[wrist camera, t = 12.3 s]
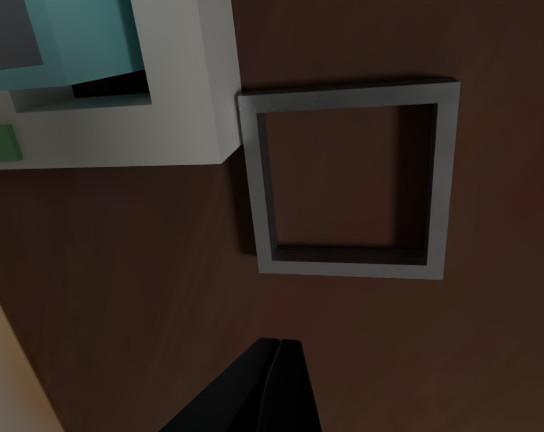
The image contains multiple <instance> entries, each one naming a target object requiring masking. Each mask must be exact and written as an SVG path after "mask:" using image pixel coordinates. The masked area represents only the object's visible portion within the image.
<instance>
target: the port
mask: <svg viewBox="0 0 544 432" xmlns="http://www.w3.org/2000/svg"><path fill="white" fill-rule="evenodd" d="M131 4H132V9H133V13H134V18H135V23H136V28H137V33H138V38H139V42H140V47H141V52H142V57H143V62H144V67H145V71H146V76H147V81H148V86H149V91H150V93H140V94H126V95H112V96H98V97H84V98H75V96H74V92H73V89H72V85H68V86H56V87H44V88H32V89H19V90H7V91H0V169H37V168H76V167H115V166H153V165H192V164H221V163H222V162H223V161H224V160H226V159H227V158H228V157H229V156H230V155H231V154H232V153H233V152H234V151H235V150H236V149H237V148H238V147H239V146H240V145H242V144H243V136H242V128H241V120H240V112H239V104H238V96H240V95H241V94H242V90H241V81H240V73H239V64H238V56H237V48H236V39H235V31H234V22H233V14H232V5H231V0H131Z"/></svg>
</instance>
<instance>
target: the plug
mask: <svg viewBox="0 0 544 432" xmlns="http://www.w3.org/2000/svg"><path fill="white" fill-rule="evenodd" d="M140 70H145V67H144V62H143V57H142V52H141V47H140V42H139V38H138V33H137V28H136V23H135V18H134V13H133V9H132V4H131V0H0V91H7V90H19V89H32V88H44V87H56V86H68V85H73V84H78V83H83V82H88V81H92V80H97V79H102V78H107V77H111V76H116V75H121V74H126V73H131V72H135V71H140Z"/></svg>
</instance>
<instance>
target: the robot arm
mask: <svg viewBox="0 0 544 432" xmlns="http://www.w3.org/2000/svg"><path fill="white" fill-rule="evenodd" d="M159 432H322V429H321V425H320V420H319V416H318V412H317V408H316V403H315V399H314V395H313V390H312V386H311V382H310V377H309V373H308V369H307V364H306V360H305V356H304V352H303V347H302V343H301V342H300V341H299V340H290V339H282V340H281V341H280V340H279V339H277V338H264V337H262V338H259V339H258V340H257V341H255V342H254V343H253V344H252V345H251V346H250V347H249V348H248V349H247V350H246V351H245V352H244V353H243V354H242V355H240V356H239V357H238V358H237V359H236V360H235V361H234V362H233V363H232V364H231V365H230V366H229V367H228V368H227V369H225V370H224V371H223V372H222V373H221V374H220V375H219V376H218V377H217V378H216V379H215V380H214V381H213V382H211V383H210V384H209V385H208V386H207V387H206V388H205V389H204V390H203V391H202V392H201V393H200V394H199V395H198V396H196V397H195V398H194V399H193V400H192V401H191V402H190V403H189V404H188V405H187V406H186V407H185V408H184V409H183V410H181V411H180V412H179V413H178V414H177V415H176V416H175V417H174V418H173V419H172V420H171V421H170V422H169V423H168V424H166V425H165V426H164V427H163V428H162V429H161V430H160V431H159Z"/></svg>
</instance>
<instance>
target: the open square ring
mask: <svg viewBox="0 0 544 432" xmlns="http://www.w3.org/2000/svg"><path fill="white" fill-rule="evenodd" d="M459 93H460V81H458V80H457V79H455V78H454V77H452V78H437V79H422V80H407V81H393V82H378V83H363V84H349V85H334V86H319V87H305V88H290V89H275V90H261V91H247V92H245V93H243V94H241V95H240V96H238V104H239V112H240V120H241V128H242V136H243V144H244V152H245V161H246V169H247V177H248V185H249V193H250V201H251V209H252V218H253V226H254V234H255V242H256V250H257V258H258V266H259V273H278V274H304V275H330V276H356V277H382V278H408V279H434V280H443V271H444V260H445V249H446V237H447V226H448V215H449V204H450V193H451V182H452V171H453V160H454V148H455V137H456V126H457V115H458V104H459ZM429 103H433V109H432V124H431V140H430V155H429V170H428V186H427V201H426V217H425V232H424V247H423V250H398V249H354V248H311V247H278V244H277V234H276V224H275V214H274V204H273V193H272V183H271V173H270V163H269V153H268V143H267V133H266V122H265V113H266V112H284V111H302V110H321V109H339V108H357V107H375V106H393V105H411V104H429Z"/></svg>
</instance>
